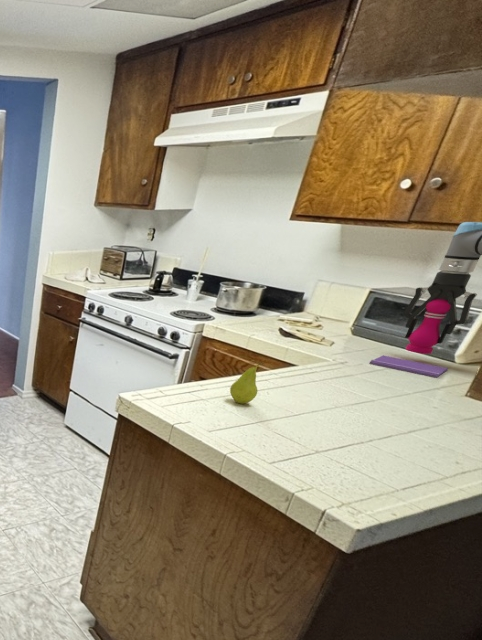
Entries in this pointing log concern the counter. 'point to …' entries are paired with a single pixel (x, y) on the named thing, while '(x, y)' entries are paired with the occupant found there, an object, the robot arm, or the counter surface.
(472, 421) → the counter surface
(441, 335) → the robot arm
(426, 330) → the pepper mill
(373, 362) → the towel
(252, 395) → the fruit
